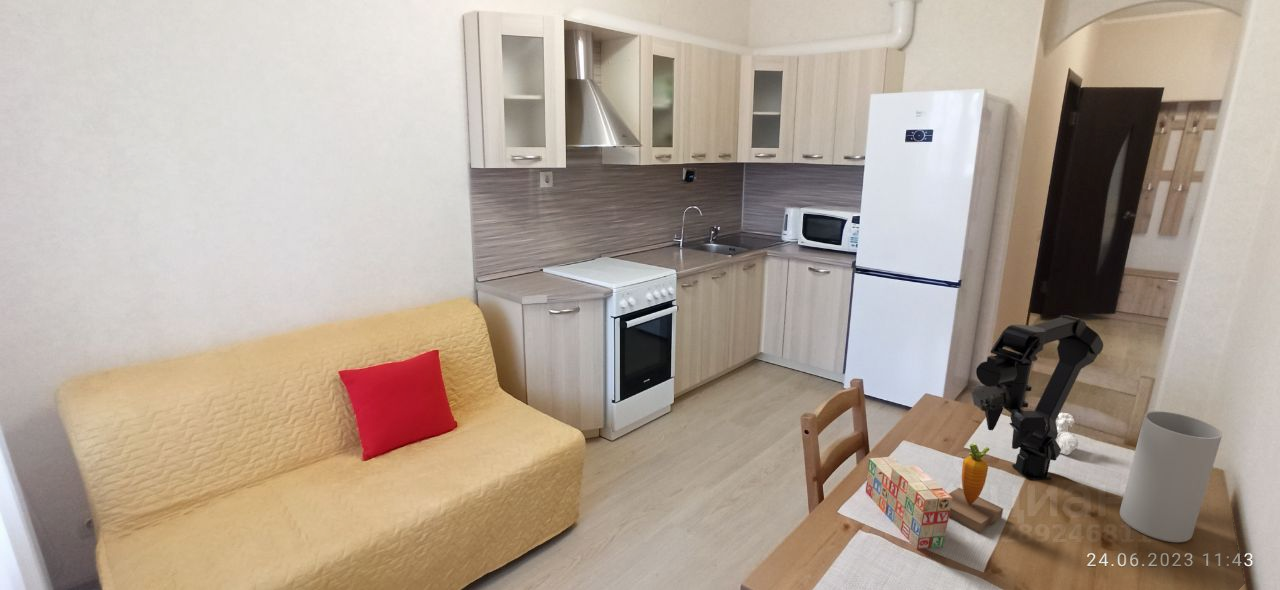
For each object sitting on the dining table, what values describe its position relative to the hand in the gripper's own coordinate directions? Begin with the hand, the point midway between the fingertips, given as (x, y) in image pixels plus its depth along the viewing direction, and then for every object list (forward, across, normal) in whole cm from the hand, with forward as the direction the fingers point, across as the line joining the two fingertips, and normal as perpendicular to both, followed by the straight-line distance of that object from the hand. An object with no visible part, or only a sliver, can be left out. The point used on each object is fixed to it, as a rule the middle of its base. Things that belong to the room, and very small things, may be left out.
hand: (1002, 439), depth 145 cm
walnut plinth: (+13, +11, -13) cm, 21 cm away
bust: (+13, -19, +30) cm, 38 cm away
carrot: (+11, +11, -13) cm, 20 cm away
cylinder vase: (+13, +16, +27) cm, 34 cm away
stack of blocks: (+13, +12, -29) cm, 34 cm away
